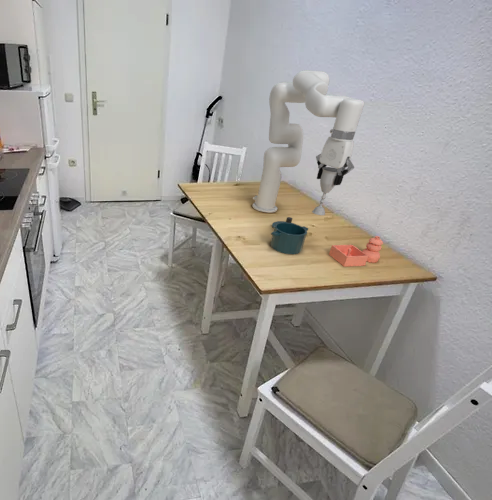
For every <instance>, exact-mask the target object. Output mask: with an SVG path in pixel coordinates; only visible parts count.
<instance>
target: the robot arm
mask: <svg viewBox="0 0 492 500" xmlns="http://www.w3.org/2000/svg"><path fill="white" fill-rule="evenodd" d="M329 84H330V76H329V74H328V73H327V72H326V71H323V70H307V69H306V70H305V69H304V70H301V71H298V72H297V73H296V74H295V75H294V77H292V81H282V82H277V83H276V84H274V85H273V87H272V88H271V90H270V93H269V98H268V100H269V101H268V103H269V110H270V115H269V116H270V118H269V130H268V140H269V142H270V143H271V144H275V145H287V146H271V147H269V148H267V149H266V150H265V151H264V154H263V166H262V173H261V179H260V183H259V186H258V187H259V188H258V192H257V195H255V196H253V197H252V200H253V201H254V202H253V203H252V205H251V206H252V209H254V210H255V211H258V212H261V213H266V214H267V213H269V214H270V213H276V212H277V211H278V206H277V205H276V204H277V199H278V194H279V191H280V187H281V183H282V177H283V176H282V172H281V170H280V168H294V167H297V166H298V165H299V164H300V163H301V159H302V152H303V143H304V129H303V127H302V126H301V124H299V123H290V110H289V108H288V106H287V104H286V103H289V104H290V103H291V104H292V103H293V104H304V105H305V108H306V110H307V111H308V112H310V113H311V114H312V115H313V116H315V117H319V118H334V119H335V121H334V124H333V127H332V128H331V129H330V130H329V133H330V136H328V137H327V139H326V141H325V143H324V144H323V147H322V150H321V153H320V154H318V155H316V156H315V160H316V164H317V169H318V171H317V176H316V179H317V180H320V179H321V176H322V172H323V169H322V168H323V167H332V168H337V169H338V175H336V178H335V181H334V185H335V186H341V184H342V182H343V179H344V177H345V176H346V175H347V174H350V172H351V171H353V170H354V169H355V165H354V164H353V162H352V160H351V159H352V155H353V151H354V143H355V141H354V139H355V138H354V137H355V134H356V131H357V128H358V125H359V122H360V119H361V116H362V112H363V110H364V106H365V102H364V100H362V99H358V98H352V97H351V96H347V95H330V94H329V95H327V94H328V91H329ZM335 186H334V187H335Z"/></svg>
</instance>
